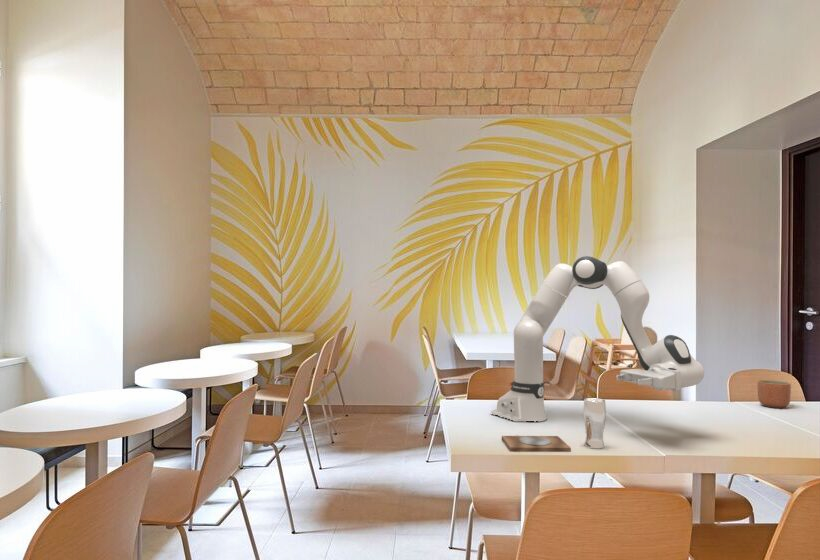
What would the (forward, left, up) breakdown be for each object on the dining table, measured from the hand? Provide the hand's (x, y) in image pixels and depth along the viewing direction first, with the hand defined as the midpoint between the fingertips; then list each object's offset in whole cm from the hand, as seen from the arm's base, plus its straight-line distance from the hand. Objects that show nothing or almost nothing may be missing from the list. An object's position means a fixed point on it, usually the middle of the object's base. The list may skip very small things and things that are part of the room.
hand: (627, 380), depth 186 cm
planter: (+12, +108, -21) cm, 111 cm away
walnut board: (-18, -26, -21) cm, 38 cm away
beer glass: (-5, -12, -21) cm, 25 cm away
